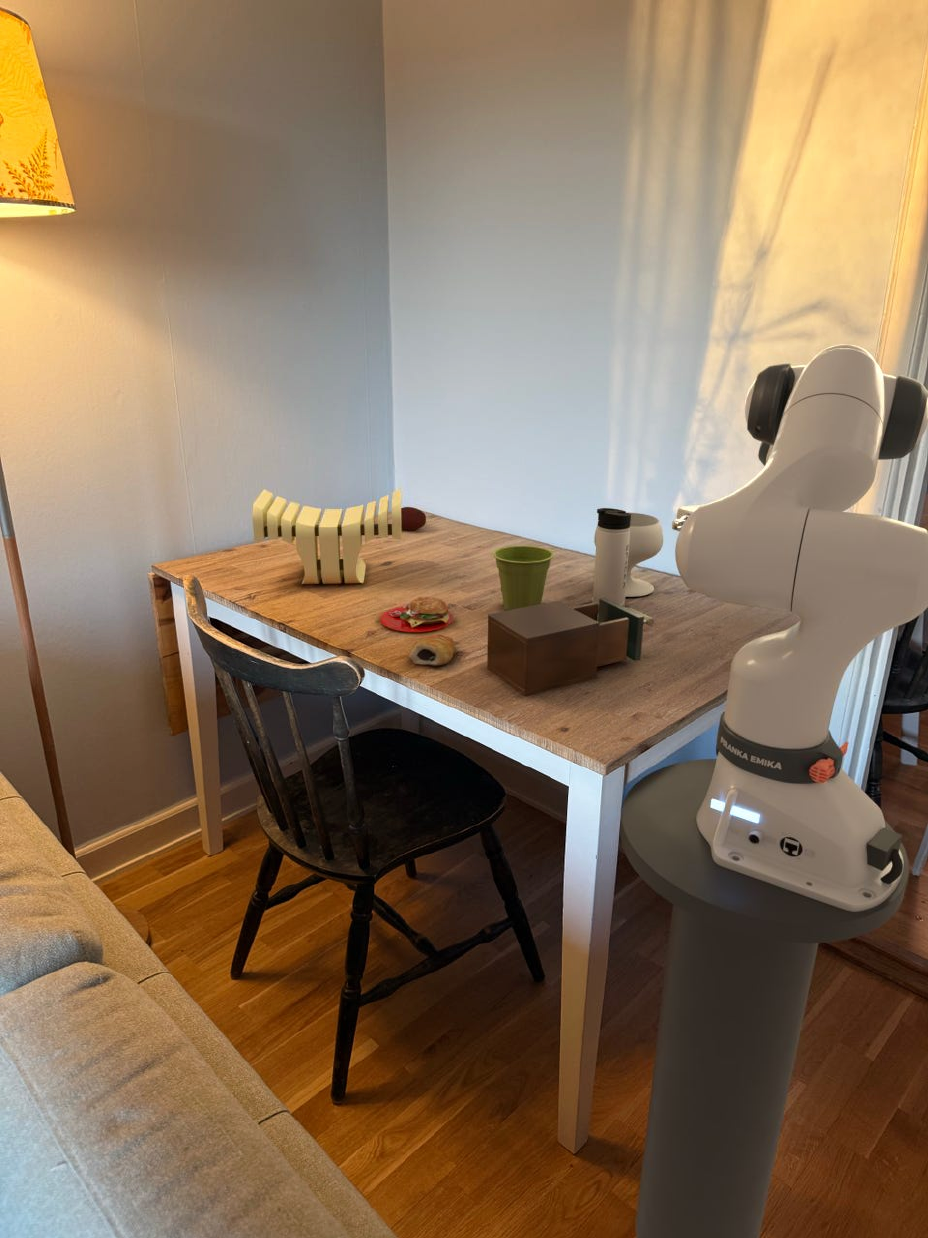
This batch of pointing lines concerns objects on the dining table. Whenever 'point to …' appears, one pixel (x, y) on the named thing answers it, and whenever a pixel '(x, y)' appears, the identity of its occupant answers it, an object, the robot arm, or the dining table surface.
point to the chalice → (641, 549)
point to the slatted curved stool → (326, 534)
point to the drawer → (616, 630)
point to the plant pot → (522, 574)
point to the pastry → (433, 650)
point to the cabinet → (542, 647)
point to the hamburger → (418, 615)
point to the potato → (412, 518)
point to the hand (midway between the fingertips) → (693, 531)
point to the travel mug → (611, 555)
